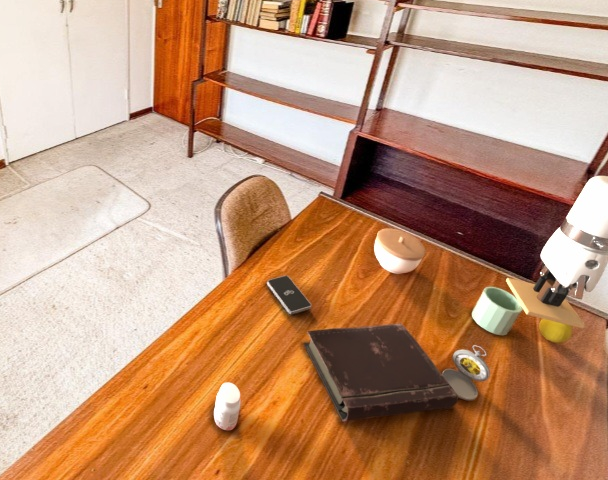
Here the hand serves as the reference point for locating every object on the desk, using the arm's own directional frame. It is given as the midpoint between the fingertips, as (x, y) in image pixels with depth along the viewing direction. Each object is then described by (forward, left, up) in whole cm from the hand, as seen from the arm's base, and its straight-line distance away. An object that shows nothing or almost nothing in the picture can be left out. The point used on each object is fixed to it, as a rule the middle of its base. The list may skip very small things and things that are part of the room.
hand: (545, 297), depth 88 cm
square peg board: (0, 0, -2) cm, 2 cm away
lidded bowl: (+22, -22, -19) cm, 37 cm away
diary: (+33, +18, -19) cm, 42 cm away
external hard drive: (+52, +3, -19) cm, 56 cm away
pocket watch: (+14, +13, -19) cm, 27 cm away
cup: (+1, -9, -19) cm, 21 cm away
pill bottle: (+63, +39, -19) cm, 77 cm away
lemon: (-11, -8, -19) cm, 24 cm away
